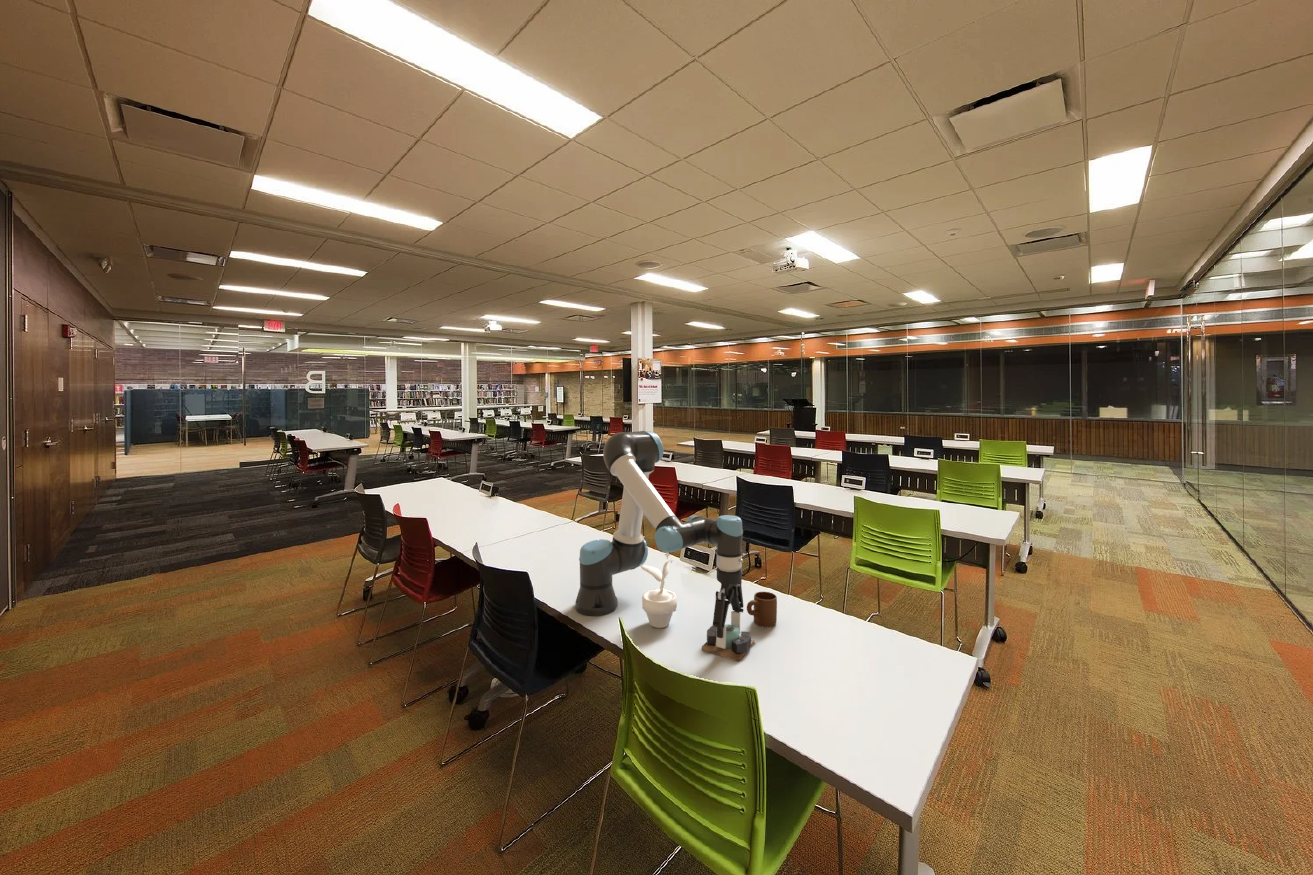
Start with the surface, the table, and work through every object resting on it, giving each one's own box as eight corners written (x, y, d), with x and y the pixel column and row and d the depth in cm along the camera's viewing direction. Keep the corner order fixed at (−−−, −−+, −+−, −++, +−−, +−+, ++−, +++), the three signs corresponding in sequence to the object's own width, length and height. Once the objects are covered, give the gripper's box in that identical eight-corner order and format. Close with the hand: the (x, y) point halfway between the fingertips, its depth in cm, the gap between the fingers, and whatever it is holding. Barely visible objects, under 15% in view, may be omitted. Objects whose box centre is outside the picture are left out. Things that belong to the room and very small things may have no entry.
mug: (755, 633, 151) (755, 605, 151) (739, 624, 158) (739, 597, 157) (781, 624, 158) (781, 597, 157) (764, 615, 164) (765, 589, 164)
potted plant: (682, 620, 161) (682, 548, 159) (668, 635, 150) (668, 558, 149) (648, 613, 166) (648, 543, 164) (633, 627, 156) (633, 553, 154)
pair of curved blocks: (702, 644, 143) (702, 634, 143) (715, 631, 151) (715, 622, 151) (742, 656, 136) (742, 646, 136) (754, 642, 144) (754, 632, 144)
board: (701, 649, 142) (701, 646, 142) (718, 633, 152) (718, 630, 152) (739, 661, 135) (739, 657, 135) (754, 643, 145) (754, 640, 145)
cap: (715, 644, 142) (716, 629, 142) (724, 636, 147) (724, 622, 147) (734, 650, 139) (734, 635, 139) (742, 642, 144) (742, 627, 144)
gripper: (724, 582, 130) (724, 659, 132) (754, 559, 149) (753, 627, 151) (700, 576, 134) (700, 652, 136) (732, 555, 153) (732, 622, 155)
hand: (728, 639), depth 143 cm, fingers open, 10 cm apart
